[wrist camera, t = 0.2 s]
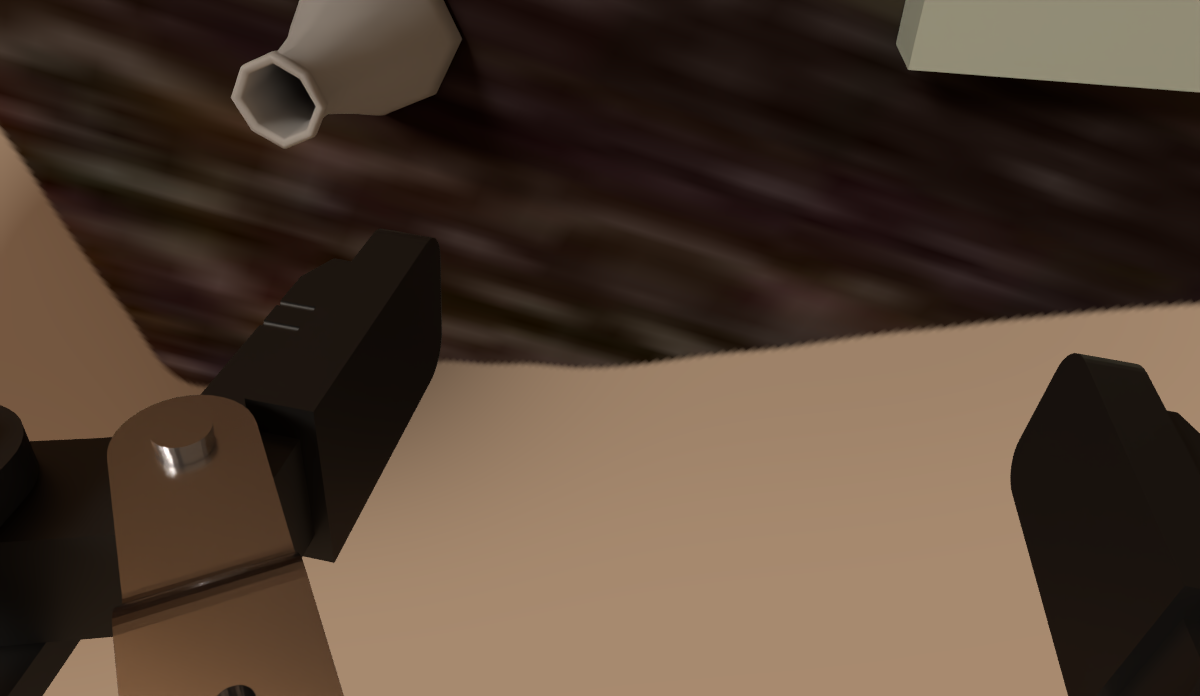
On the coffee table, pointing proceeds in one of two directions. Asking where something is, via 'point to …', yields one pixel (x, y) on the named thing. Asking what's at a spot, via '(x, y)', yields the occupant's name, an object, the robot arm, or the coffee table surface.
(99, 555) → the robot arm
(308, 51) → the flask
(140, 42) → the coffee table surface
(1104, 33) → the white flat square block
